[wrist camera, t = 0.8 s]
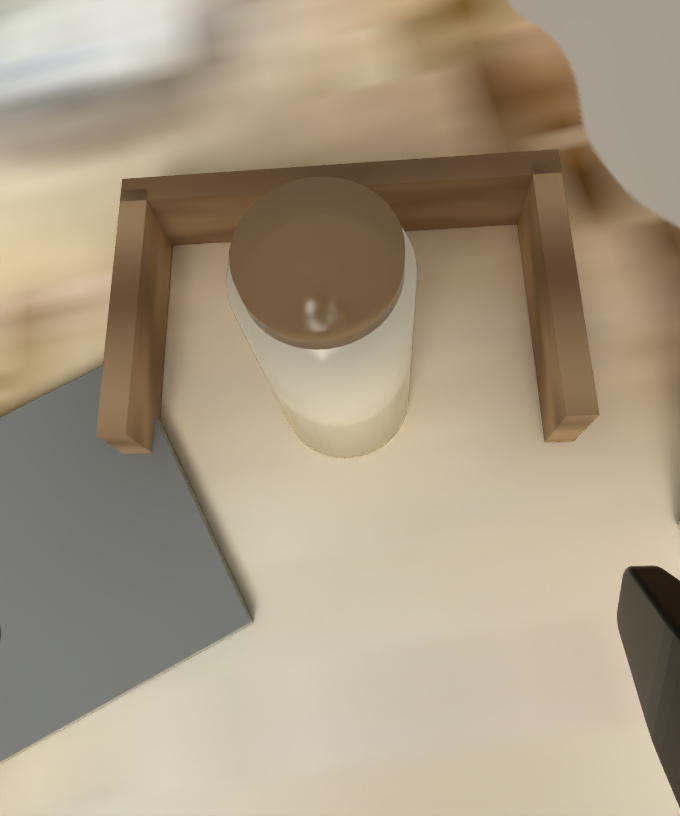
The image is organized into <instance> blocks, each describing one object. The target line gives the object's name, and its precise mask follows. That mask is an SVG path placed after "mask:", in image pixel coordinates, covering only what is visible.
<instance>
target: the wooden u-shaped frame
mask: <svg viewBox="0 0 680 816" xmlns="http://www.w3.org/2000/svg"><path fill="white" fill-rule="evenodd" d="M308 177H335V178H342V179H346V180H350V181H353V182H356V183H358V184H361V185H363V186H365V187H367V188H368V189H370V190H372V191H373V192H375V193H376V194H377V195H379V196H380V197H381V198H382V199H383V200H384V201H385V202H386V203H387V204H388V205H389V206H390V207H391V209H392V210H393V211H394V213H395V215H396V216H397V218H398V220H399V222H400V225H401V227H402V228H403V230H404V231H412V230H428V229H445V228H461V227H477V226H494V225H510V224H518V232H519V240H520V248H521V256H522V264H523V272H524V280H525V288H526V296H527V304H528V312H529V320H530V328H531V336H532V344H533V352H534V359H535V367H536V375H537V383H538V391H539V399H540V407H541V415H542V423H543V431H544V439H545V442H560V441H574V440H575V439H576V438H577V437H578V436H579V435H580V434H581V433H582V432H583V431H584V430H585V429H586V428H587V427H588V426H589V425H590V424H591V423H592V422H593V421H594V420H595V419H596V417H597V416H598V415H599V410H598V403H597V397H596V391H595V384H594V378H593V371H592V365H591V358H590V352H589V346H588V339H587V333H586V326H585V320H584V314H583V307H582V301H581V294H580V288H579V281H578V275H577V269H576V262H575V256H574V249H573V243H572V236H571V230H570V224H569V217H568V211H567V204H566V198H565V191H564V185H563V179H562V172H561V166H560V159H559V153H558V149H557V150H542V151H528V152H513V153H498V154H484V155H469V156H454V157H440V158H425V159H410V160H396V161H381V162H366V163H351V164H337V165H322V166H307V167H293V168H278V169H263V170H249V171H234V172H219V173H205V174H190V175H175V176H161V177H146V178H131V179H122V188H121V197H120V207H119V217H118V226H117V236H116V246H115V255H114V265H113V275H112V284H111V294H110V304H109V313H108V323H107V333H106V342H105V352H104V361H103V371H102V381H101V390H100V400H99V410H98V419H97V429H96V436H97V437H98V438H100V439H102V440H103V441H105V442H106V443H108V444H109V445H111V446H112V447H114V448H115V449H117V450H118V451H120V452H122V453H123V454H146V453H152V441H153V428H154V416H155V417H156V418H158V419H159V420H160V412H161V398H162V384H163V370H164V356H165V342H166V328H167V314H168V300H169V286H170V272H171V258H172V245H182V244H199V243H215V242H231V240H232V237H233V234H234V231H235V229H236V227H237V225H238V223H239V222H240V220H241V218H242V217H243V215H244V214H245V213H246V212H247V210H248V209H249V208H250V207H251V206H252V205H253V204H254V203H255V202H256V201H257V200H258V199H259V198H261V197H262V196H264V195H265V194H266V193H268V192H269V191H271V190H273V189H275V188H276V187H279V186H281V185H283V184H286V183H288V182H291V181H295V180H298V179H303V178H308Z"/></svg>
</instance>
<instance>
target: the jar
mask: <svg viewBox="0 0 680 816" xmlns="http://www.w3.org/2000/svg"><path fill="white" fill-rule="evenodd" d="M416 282H417V264H416V258H415V253H414V250H413V247H412V245H411V242H410V240H409V238H408V236H407V235H406V233H405V231H404V230H403V228H402V227H401V225H400V222H399V220H398V218H397V216H396V215H395V213H394V211H393V210H392V209H391V207H390V206H389V205H388V204H387V203H386V202H385V201H384V200H383V199H382V198H381V197H380V196H379V195H377V194H376V193H375V192H373V191H372V190H370V189H368V188H367V187H365V186H363V185H361V184H358V183H356V182H353V181H350V180H346V179H342V178H335V177H308V178H303V179H298V180H295V181H291V182H288V183H286V184H283V185H281V186H279V187H276V188H275V189H273V190H271V191H269V192H268V193H266V194H265V195H264V196H262V197H261V198H259V199H258V200H257V201H256V202H255V203H254V204H253V205H252V206H251V207H250V208H249V209H248V210H247V212H246V213H245V214H244V215H243V217H242V218H241V220H240V222H239V223H238V225H237V227H236V229H235V231H234V234H233V237H232V240H231V245H230V251H229V265H228V271H227V292H228V298H229V301H230V305H231V308H232V310H233V312H234V315H235V317H236V319H237V321H238V323H239V325H240V327H241V329H242V331H243V333H244V335H245V337H246V339H247V341H248V343H249V345H250V347H251V349H252V351H253V353H254V354H255V356H256V358H257V360H258V362H259V364H260V366H261V368H262V370H263V372H264V374H265V376H266V378H267V380H268V382H269V384H270V386H271V388H272V390H273V392H274V394H275V396H276V398H277V400H278V402H279V404H280V406H281V408H282V410H283V412H284V414H285V416H286V418H287V420H288V422H289V424H290V426H291V428H292V429H293V431H294V432H295V434H296V435H297V436H298V438H299V439H300V440H301V441H302V442H303V443H305V444H306V445H307V446H308V447H310V448H311V449H313V450H315V451H317V452H319V453H321V454H324V455H327V456H331V457H336V458H354V457H360V456H363V455H367V454H369V453H372V452H374V451H376V450H378V449H379V448H381V447H382V446H384V445H385V444H386V443H387V442H389V441H390V440H391V439H392V438H393V437H394V435H395V434H396V433H397V432H398V430H399V429H400V427H401V425H402V423H403V421H404V419H405V416H406V413H407V408H408V398H409V383H410V369H411V354H412V340H413V326H414V311H415V297H416Z"/></svg>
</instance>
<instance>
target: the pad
mask: <svg viewBox="0 0 680 816" xmlns="http://www.w3.org/2000/svg"><path fill="white" fill-rule="evenodd" d="M102 371H103V366H101V367H99V368H97V369H95V370H93V371H91V372H89V373H87V374H85V375H83V376H81V377H79V378H77V379H75V380H73V381H71V382H69V383H67V384H65V385H63V386H61V387H59V388H58V389H56V390H54V391H52V392H50V393H48V394H46V395H44V396H42V397H40V398H38V399H36V400H34V401H32V402H30V403H28V404H26V405H24V406H22V407H20V408H18V409H16V410H14V411H12V412H10V413H8V414H6V415H4V416H2V417H0V627H1V640H0V764H2V763H3V762H5V761H7V760H9V759H11V758H12V757H14V756H16V755H18V754H19V753H21V752H23V751H25V750H27V749H28V748H30V747H32V746H34V745H36V744H37V743H39V742H41V741H43V740H45V739H46V738H48V737H50V736H52V735H53V734H55V733H57V732H59V731H61V730H62V729H64V728H66V727H68V726H70V725H71V724H73V723H75V722H77V721H79V720H80V719H82V718H84V717H86V716H87V715H89V714H91V713H93V712H95V711H96V710H98V709H100V708H102V707H104V706H105V705H107V704H109V703H111V702H113V701H114V700H116V699H118V698H120V697H121V696H123V695H125V694H127V693H129V692H130V691H132V690H134V689H136V688H138V687H139V686H141V685H143V684H145V683H147V682H148V681H150V680H152V679H154V678H155V677H157V676H159V675H161V674H163V673H164V672H166V671H168V670H170V669H172V668H173V667H175V666H177V665H179V664H181V663H182V662H184V661H186V660H188V659H189V658H191V657H193V656H195V655H197V654H198V653H200V652H202V651H204V650H206V649H207V648H209V647H211V646H213V645H215V644H216V643H218V642H220V641H222V640H223V639H225V638H227V637H229V636H231V635H232V634H234V633H236V632H238V631H240V630H241V629H243V628H245V627H247V626H249V625H250V624H252V623H253V621H252V619H251V616H250V614H249V612H248V610H247V608H246V606H245V603H244V601H243V599H242V597H241V595H240V593H239V590H238V588H237V586H236V584H235V582H234V580H233V578H232V575H231V573H230V571H229V569H228V567H227V565H226V562H225V560H224V558H223V556H222V554H221V552H220V549H219V547H218V545H217V543H216V541H215V539H214V536H213V534H212V532H211V530H210V528H209V526H208V523H207V521H206V519H205V517H204V515H203V513H202V510H201V508H200V506H199V504H198V502H197V500H196V498H195V495H194V493H193V491H192V489H191V487H190V485H189V482H188V480H187V478H186V476H185V474H184V472H183V469H182V467H181V465H180V463H179V461H178V459H177V456H176V454H175V452H174V450H173V448H172V446H171V443H170V441H169V439H168V437H167V435H166V433H165V430H164V428H163V426H162V424H161V422H160V420H159V419H158V418H156V417H155V416H154V428H153V441H152V453H146V454H123V453H122V452H120V451H118V450H117V449H115V448H114V447H112V446H111V445H109V444H108V443H106V442H105V441H103V440H102V439H100V438H98V437H97V436H96V429H97V419H98V410H99V400H100V390H101V381H102Z"/></svg>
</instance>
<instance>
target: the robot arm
mask: <svg viewBox="0 0 680 816" xmlns="http://www.w3.org/2000/svg"><path fill="white" fill-rule="evenodd" d="M617 623H618V629H619V633H620V636H621V639H622V643H623V646H624V649H625V653H626V656H627V660H628V663H629V666H630V670H631V673H632V676H633V680H634V683H635V687H636V690H637V693H638V697H639V700H640V703H641V707H642V710H643V714H644V717H645V720H646V723H647V727H648V730H649V733H650V736H651V739H652V742H653V744H654V747H655V749H656V752H657V754H658V757H659V759H660V762H661V764H662V767H663V769H664V771H665V774H666V776H667V779H668V781H669V783H670V786H671V788H672V791H673V793H674V795H675V798H676V800H677V802H678V805H679V807H680V581H679V580H678V579H677V578H675V577H674V576H672V575H671V574H669V573H668V572H667V571H665V570H664V569H662V568H660V567H658V566H631V567H628V568H627V569H626V570H625V571H624V574H623V578H622V584H621V591H620V597H619V604H618V610H617ZM0 640H1V627H0Z"/></svg>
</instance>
